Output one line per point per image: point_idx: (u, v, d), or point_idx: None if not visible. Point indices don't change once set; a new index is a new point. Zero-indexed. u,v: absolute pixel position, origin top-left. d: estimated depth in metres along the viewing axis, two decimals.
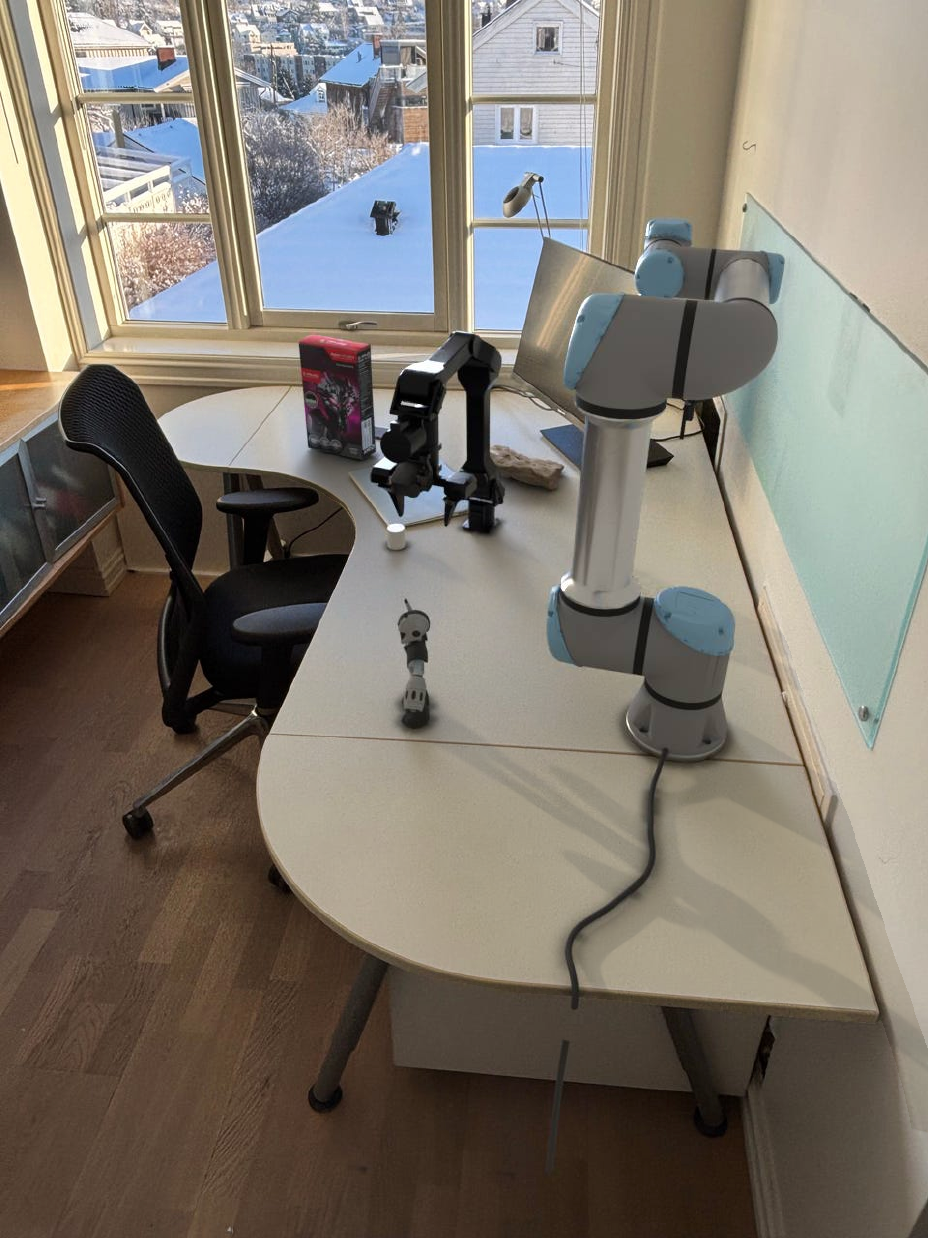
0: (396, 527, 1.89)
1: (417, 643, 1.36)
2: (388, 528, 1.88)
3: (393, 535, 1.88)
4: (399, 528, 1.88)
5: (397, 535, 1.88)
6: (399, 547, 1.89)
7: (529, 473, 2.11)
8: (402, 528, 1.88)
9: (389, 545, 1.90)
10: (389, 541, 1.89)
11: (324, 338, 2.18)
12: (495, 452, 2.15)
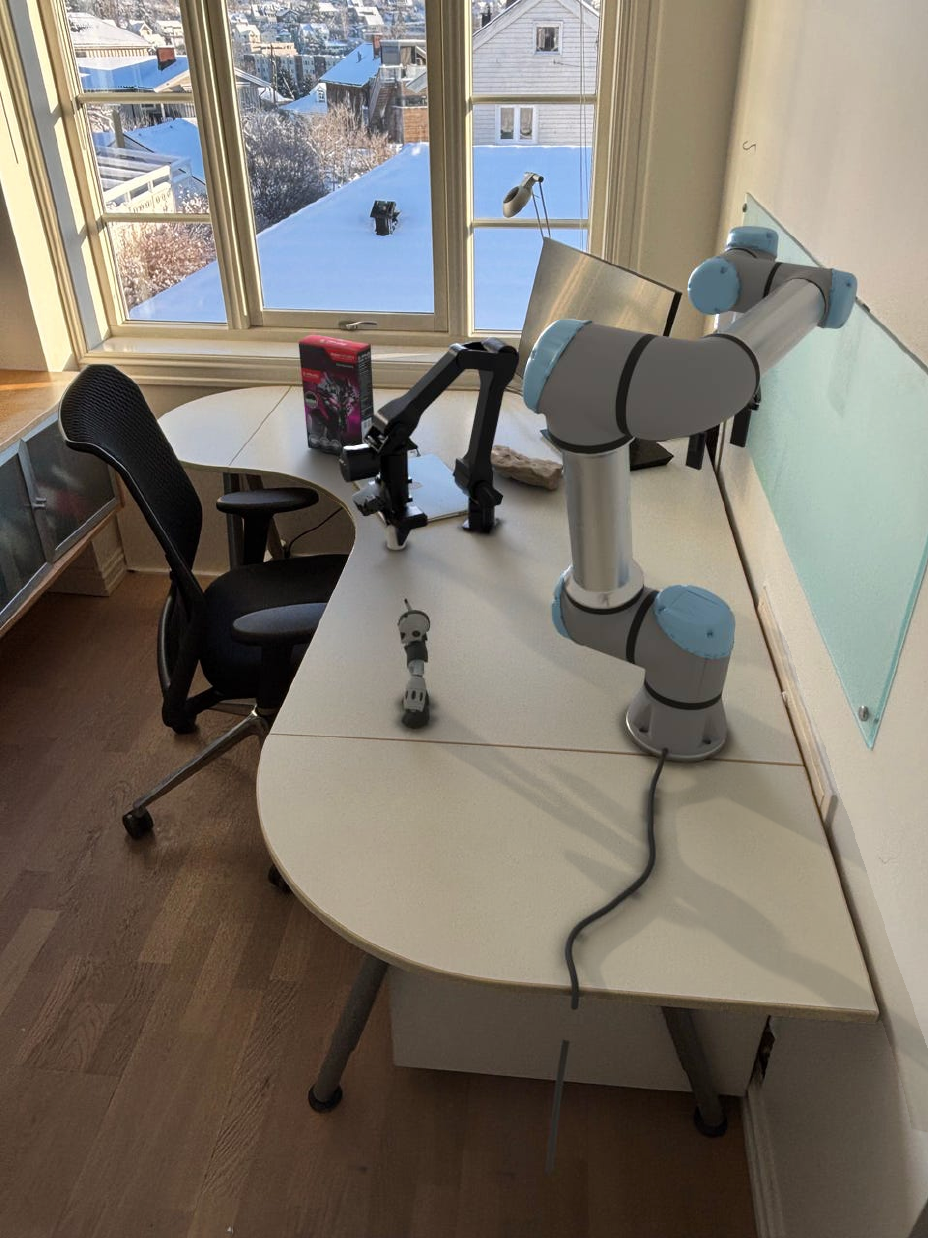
0: None
1: (417, 643, 1.36)
2: (388, 528, 1.88)
3: (393, 535, 1.88)
4: None
5: None
6: (399, 547, 1.89)
7: (529, 473, 2.11)
8: None
9: (389, 545, 1.90)
10: (389, 541, 1.89)
11: (324, 338, 2.18)
12: (495, 452, 2.15)
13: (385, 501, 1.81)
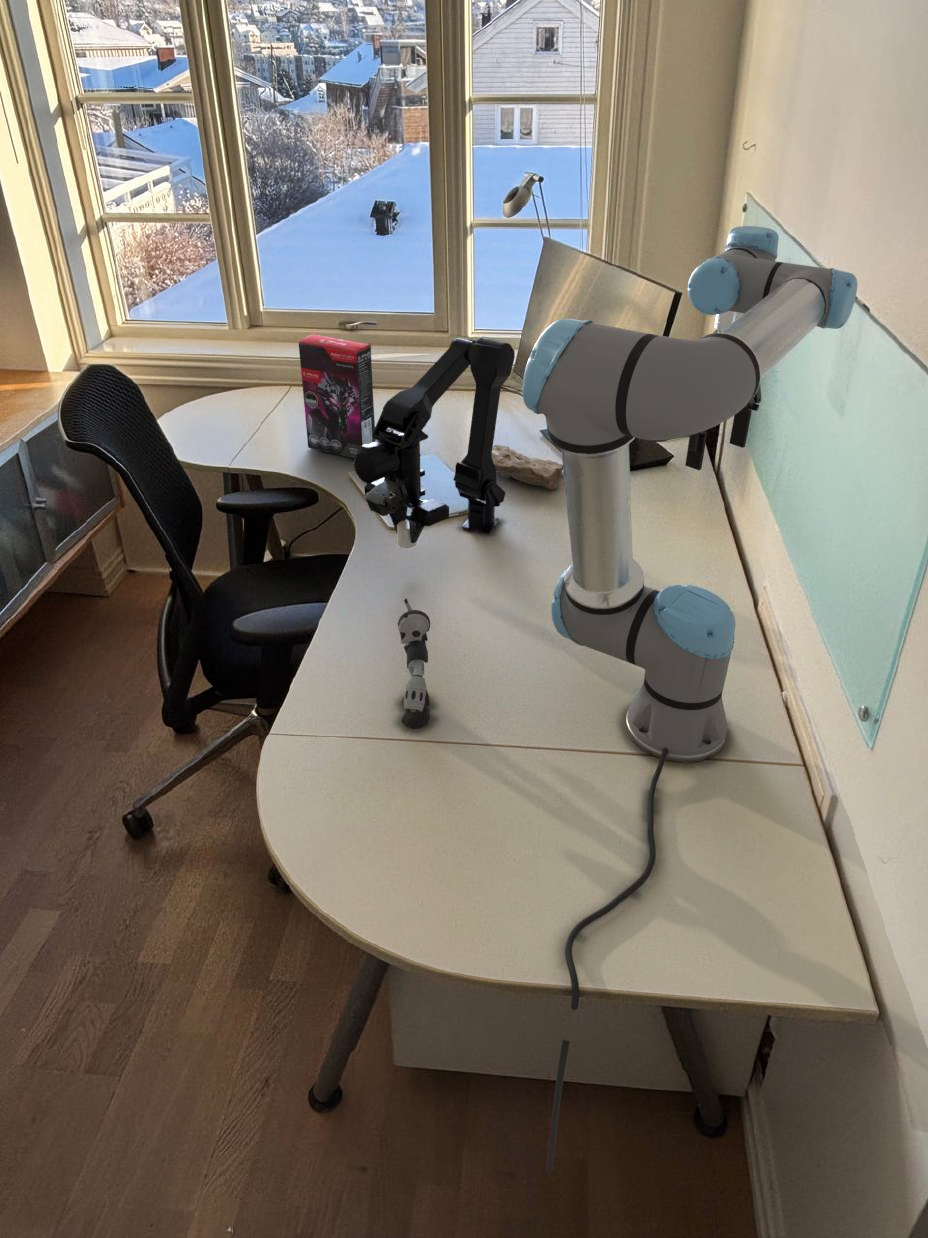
0: (406, 524, 1.80)
1: (417, 643, 1.36)
2: (399, 526, 1.79)
3: (406, 532, 1.79)
4: None
5: None
6: (412, 544, 1.81)
7: (529, 473, 2.11)
8: None
9: (401, 544, 1.81)
10: (401, 539, 1.80)
11: (324, 338, 2.18)
12: (495, 452, 2.15)
13: (402, 497, 1.72)
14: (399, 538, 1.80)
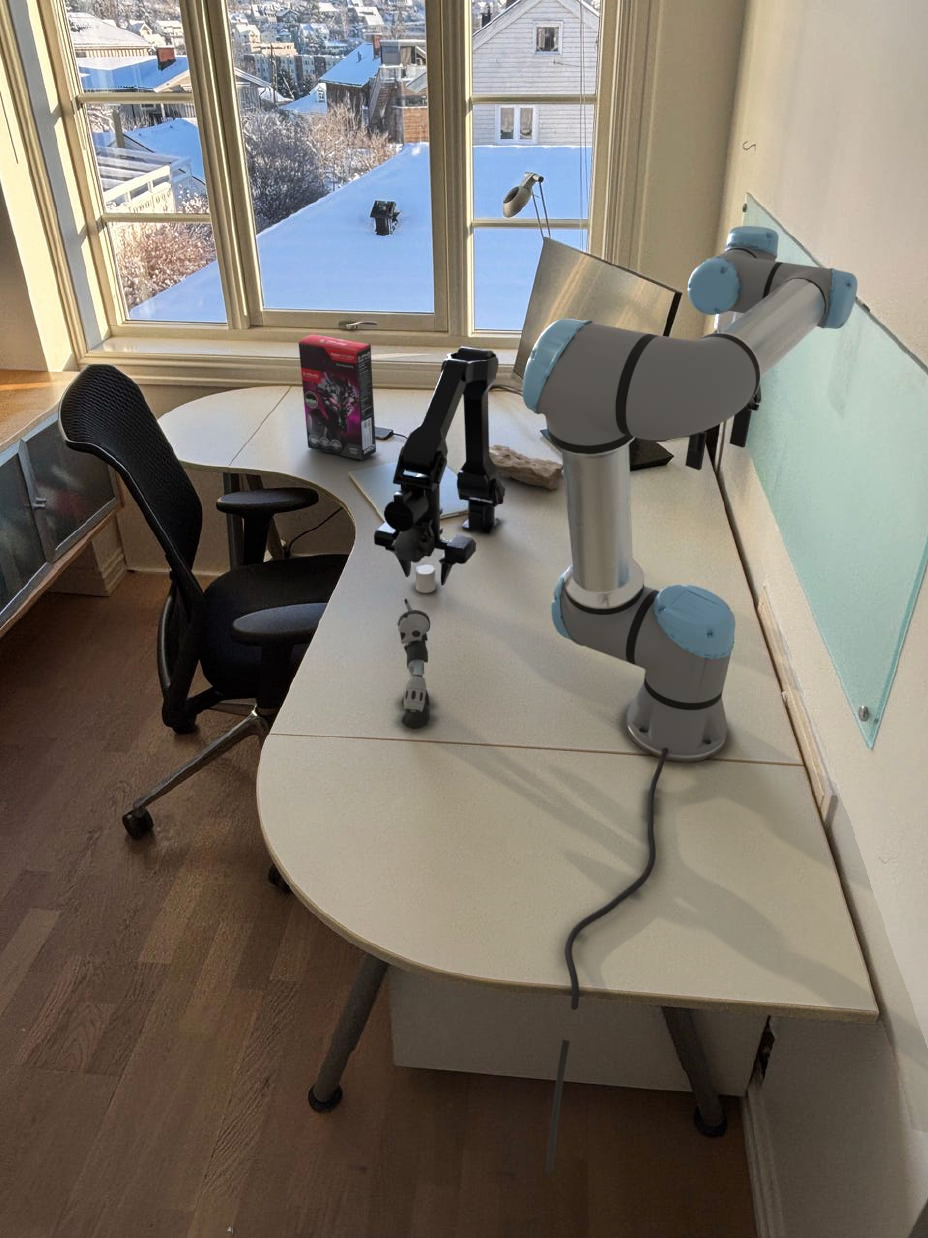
0: (425, 568, 1.75)
1: (417, 643, 1.36)
2: (419, 572, 1.74)
3: (429, 577, 1.74)
4: (429, 568, 1.75)
5: (432, 576, 1.75)
6: (433, 588, 1.76)
7: (529, 473, 2.11)
8: (431, 567, 1.76)
9: (423, 589, 1.75)
10: (423, 585, 1.75)
11: (324, 338, 2.18)
12: (495, 452, 2.15)
13: None
14: (420, 584, 1.75)
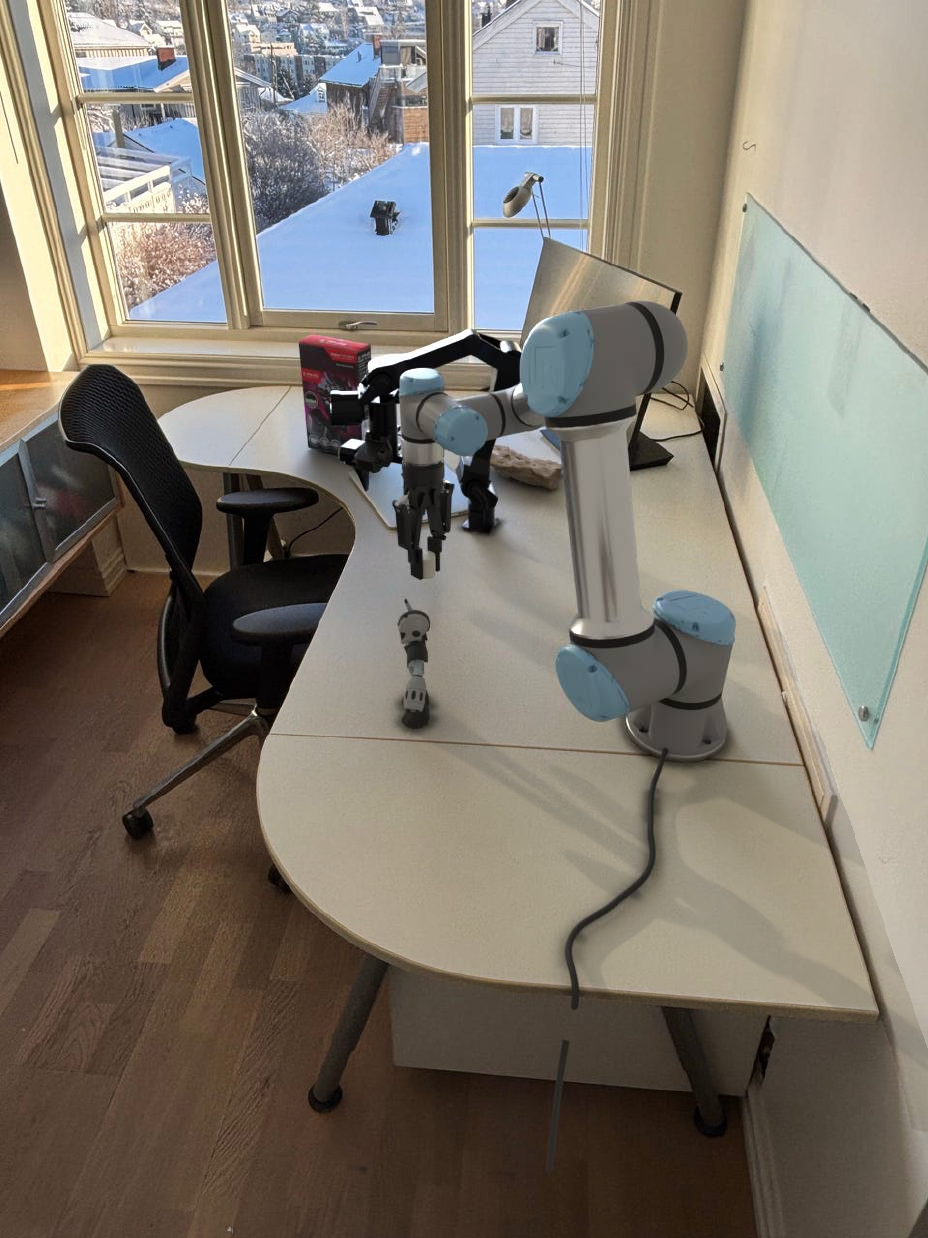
0: (425, 554, 1.73)
1: (417, 643, 1.36)
2: None
3: (429, 563, 1.72)
4: (429, 554, 1.73)
5: (433, 562, 1.73)
6: (434, 574, 1.74)
7: (529, 473, 2.11)
8: (432, 553, 1.74)
9: (424, 576, 1.73)
10: (424, 571, 1.73)
11: (324, 338, 2.18)
12: (495, 452, 2.15)
13: None
14: None
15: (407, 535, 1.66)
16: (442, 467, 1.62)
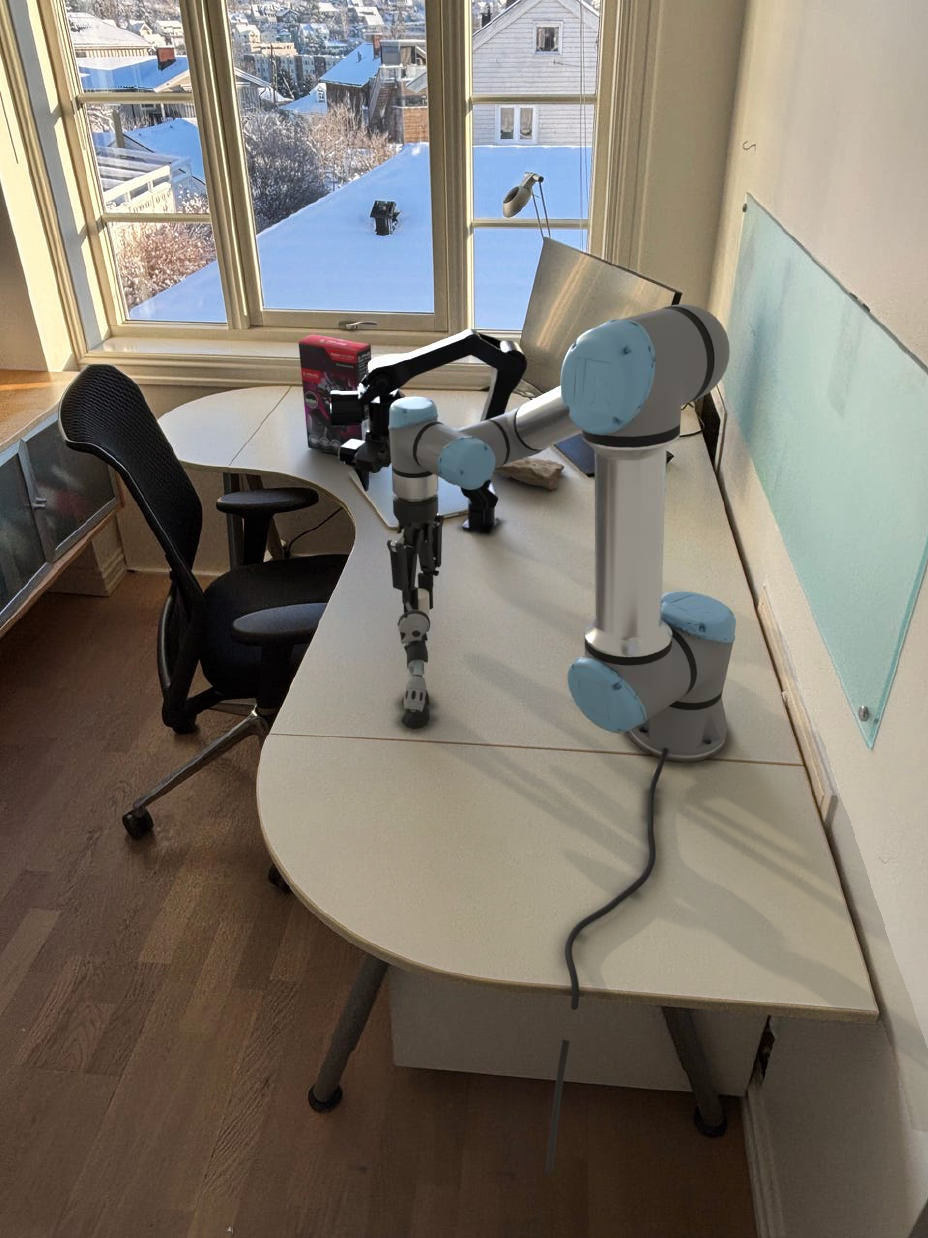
0: (418, 593, 1.62)
1: (417, 643, 1.36)
2: None
3: (424, 601, 1.61)
4: (422, 592, 1.62)
5: (428, 600, 1.62)
6: (429, 612, 1.64)
7: (529, 473, 2.11)
8: (424, 591, 1.63)
9: None
10: None
11: (324, 338, 2.18)
12: None
13: None
14: None
15: (405, 576, 1.54)
16: (437, 500, 1.51)
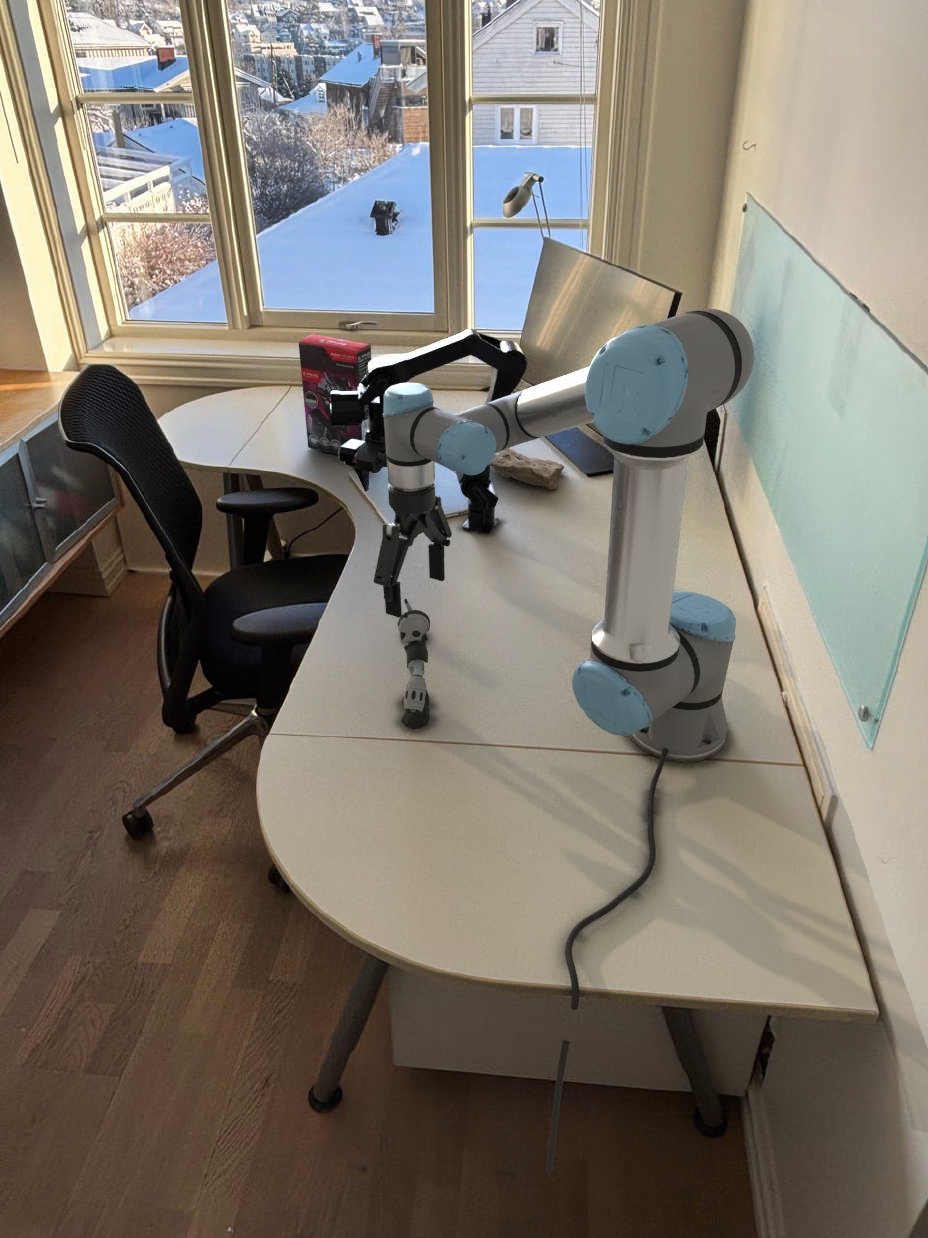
0: None
1: (417, 643, 1.36)
2: None
3: None
4: None
5: None
6: None
7: (529, 473, 2.11)
8: None
9: None
10: None
11: (324, 338, 2.18)
12: None
13: None
14: None
15: (391, 567, 1.46)
16: (434, 489, 1.47)
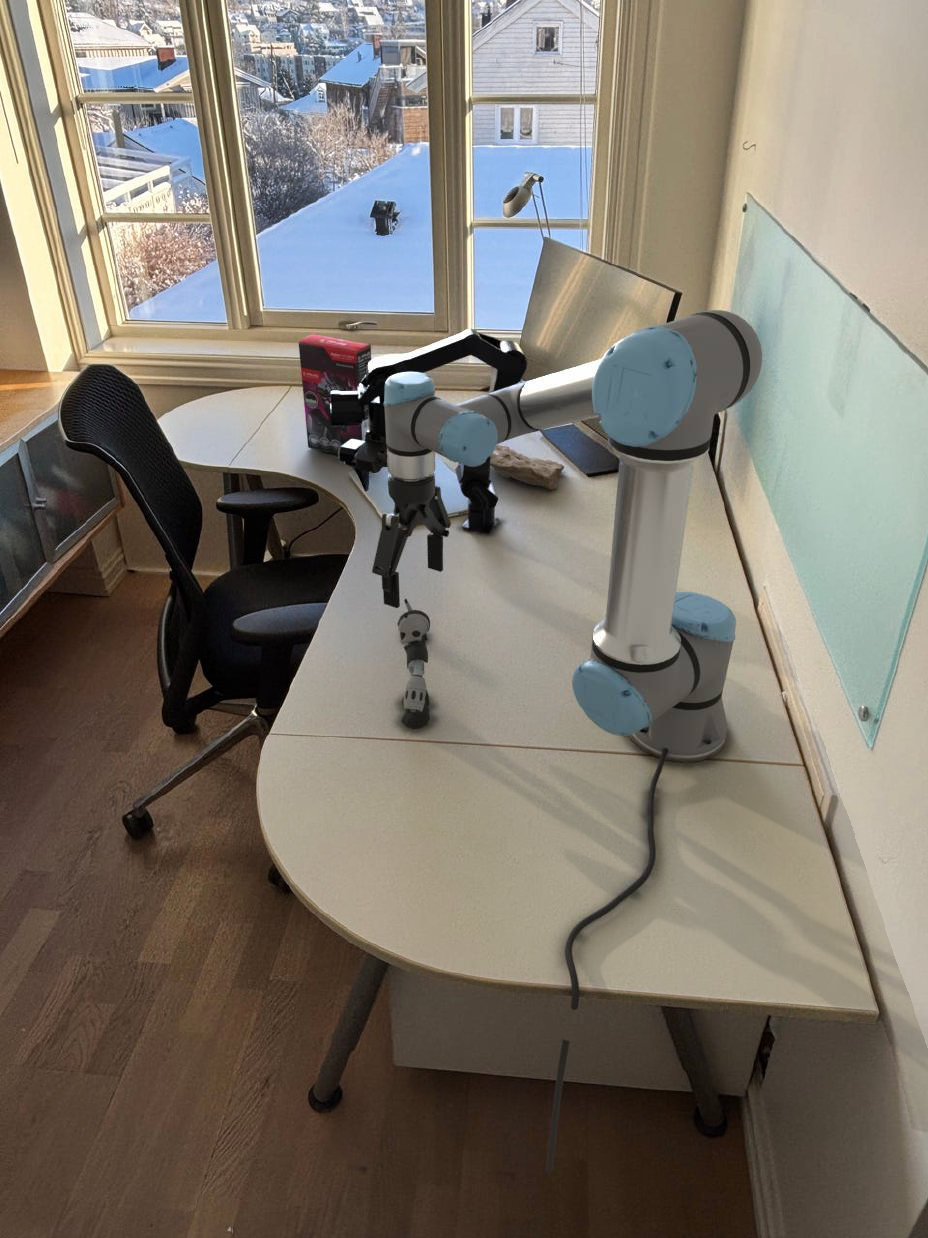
0: None
1: (417, 643, 1.36)
2: None
3: None
4: None
5: None
6: None
7: (529, 473, 2.11)
8: None
9: None
10: None
11: (324, 338, 2.18)
12: (495, 452, 2.15)
13: None
14: None
15: (390, 557, 1.45)
16: (434, 480, 1.46)
